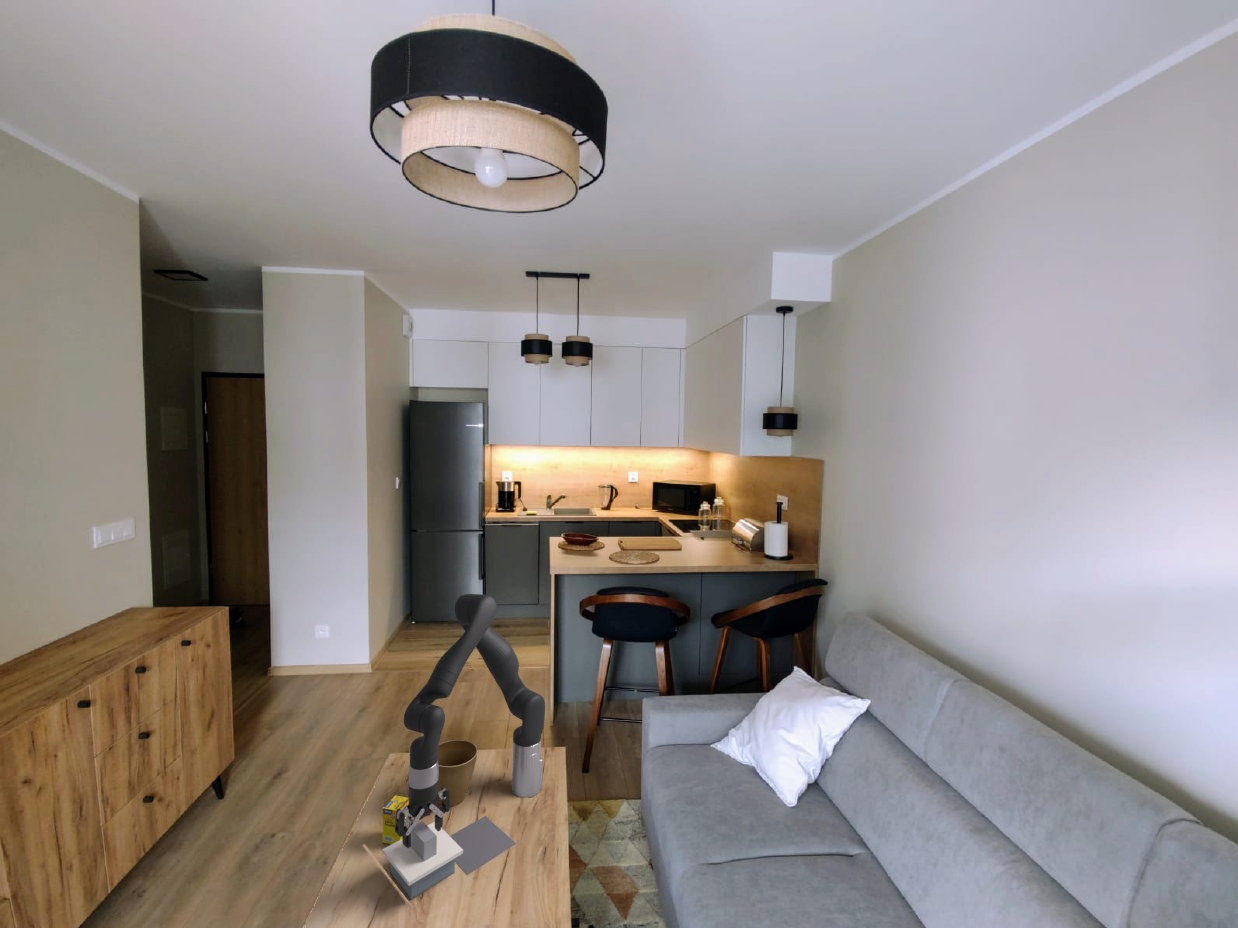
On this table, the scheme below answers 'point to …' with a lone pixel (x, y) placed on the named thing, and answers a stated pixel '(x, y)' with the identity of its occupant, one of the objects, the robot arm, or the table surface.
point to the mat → (480, 844)
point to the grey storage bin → (424, 879)
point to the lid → (422, 852)
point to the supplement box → (392, 819)
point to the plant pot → (456, 768)
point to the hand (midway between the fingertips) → (422, 837)
